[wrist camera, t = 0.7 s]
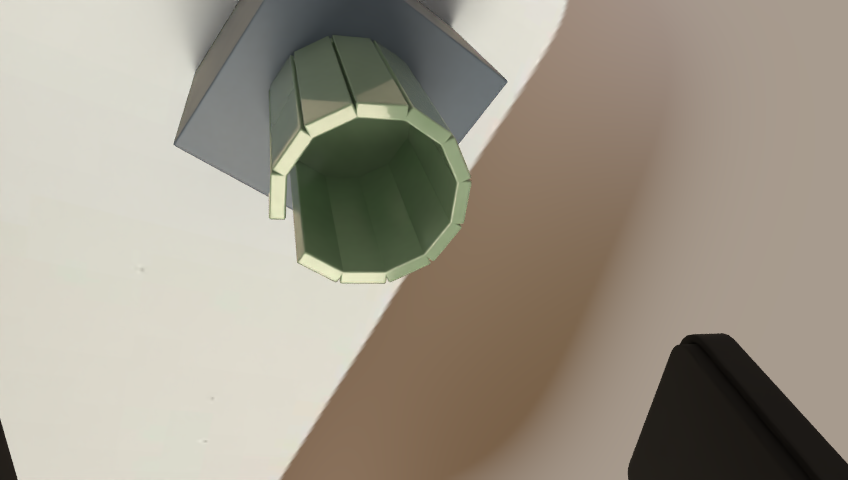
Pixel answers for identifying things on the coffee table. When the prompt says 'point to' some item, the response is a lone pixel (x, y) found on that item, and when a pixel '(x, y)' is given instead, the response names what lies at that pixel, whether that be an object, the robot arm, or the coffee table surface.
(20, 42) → the coffee table surface
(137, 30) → the coffee table surface
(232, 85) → the slate grey cube
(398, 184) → the cup
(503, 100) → the coffee table surface
